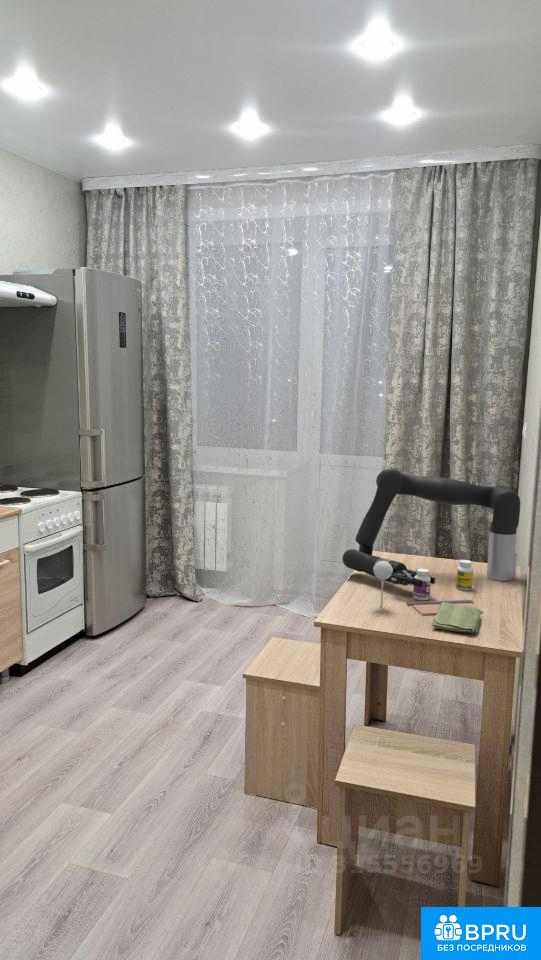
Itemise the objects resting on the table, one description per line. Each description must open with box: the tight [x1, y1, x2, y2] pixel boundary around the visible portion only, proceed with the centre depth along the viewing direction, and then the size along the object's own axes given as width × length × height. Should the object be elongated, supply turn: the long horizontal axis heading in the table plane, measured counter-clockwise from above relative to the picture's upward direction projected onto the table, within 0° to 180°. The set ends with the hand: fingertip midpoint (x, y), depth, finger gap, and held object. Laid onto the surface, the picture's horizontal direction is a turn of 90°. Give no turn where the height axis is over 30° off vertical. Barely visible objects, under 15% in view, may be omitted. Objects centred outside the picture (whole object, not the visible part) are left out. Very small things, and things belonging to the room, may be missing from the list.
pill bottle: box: [412, 568, 431, 601], centre depth 227 cm, size 5×5×10 cm
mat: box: [406, 599, 484, 616], centre depth 218 cm, size 22×11×1 cm, turn 99°
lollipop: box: [373, 561, 393, 608], centre depth 217 cm, size 6×6×15 cm
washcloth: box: [431, 602, 481, 635], centre depth 204 cm, size 13×18×3 cm
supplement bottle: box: [455, 559, 474, 591], centre depth 238 cm, size 5×5×10 cm
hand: (428, 582), depth 225 cm, fingers closed on pill bottle, 5 cm apart
